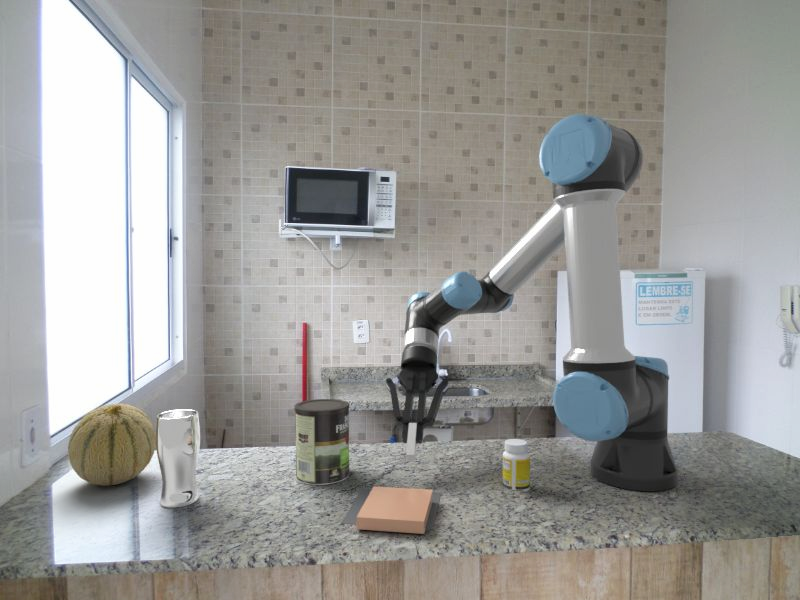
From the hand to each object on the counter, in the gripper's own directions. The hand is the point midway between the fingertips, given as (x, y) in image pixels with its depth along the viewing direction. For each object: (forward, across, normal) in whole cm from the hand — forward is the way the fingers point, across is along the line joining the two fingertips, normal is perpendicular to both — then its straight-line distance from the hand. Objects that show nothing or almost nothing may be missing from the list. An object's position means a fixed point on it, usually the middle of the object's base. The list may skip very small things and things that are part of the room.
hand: (410, 458), depth 99 cm
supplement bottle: (+3, -19, -4) cm, 20 cm away
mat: (+12, +1, +5) cm, 12 cm away
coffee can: (+3, +17, -5) cm, 18 cm away
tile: (+8, 0, +4) cm, 9 cm away
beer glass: (+12, +38, +5) cm, 41 cm away
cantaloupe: (+8, +55, 0) cm, 56 cm away
